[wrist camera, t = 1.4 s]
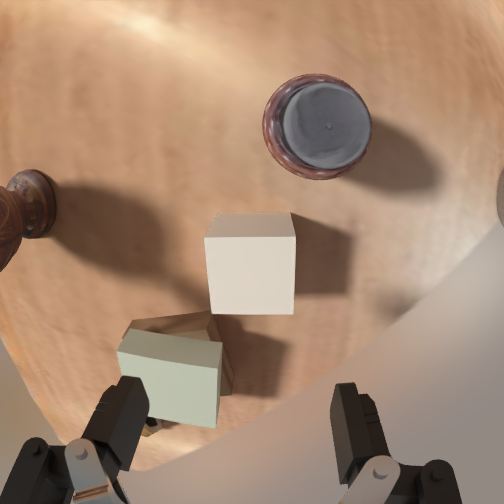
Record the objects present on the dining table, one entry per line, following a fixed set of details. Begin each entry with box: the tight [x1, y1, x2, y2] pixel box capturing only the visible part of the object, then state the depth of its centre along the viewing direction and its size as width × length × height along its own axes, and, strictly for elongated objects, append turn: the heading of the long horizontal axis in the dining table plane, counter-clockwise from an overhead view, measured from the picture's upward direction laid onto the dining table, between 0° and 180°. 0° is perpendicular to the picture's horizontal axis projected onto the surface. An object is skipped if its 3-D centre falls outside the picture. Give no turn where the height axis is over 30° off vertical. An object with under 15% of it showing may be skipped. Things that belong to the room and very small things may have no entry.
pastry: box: [141, 416, 163, 437], centre depth 36 cm, size 9×7×4 cm
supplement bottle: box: [262, 74, 372, 180], centre depth 17 cm, size 6×6×11 cm
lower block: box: [122, 311, 234, 396], centre depth 31 cm, size 9×9×4 cm
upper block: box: [117, 328, 223, 428], centre depth 27 cm, size 9×9×4 cm
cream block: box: [204, 212, 296, 314], centre depth 24 cm, size 6×6×6 cm
